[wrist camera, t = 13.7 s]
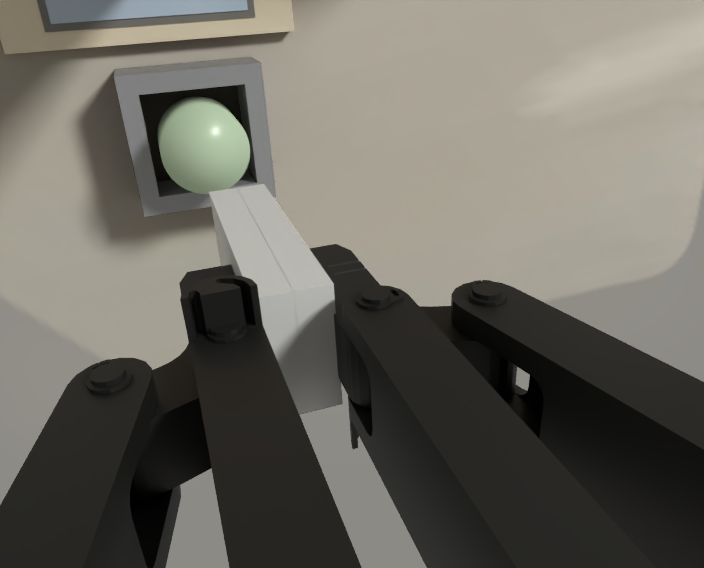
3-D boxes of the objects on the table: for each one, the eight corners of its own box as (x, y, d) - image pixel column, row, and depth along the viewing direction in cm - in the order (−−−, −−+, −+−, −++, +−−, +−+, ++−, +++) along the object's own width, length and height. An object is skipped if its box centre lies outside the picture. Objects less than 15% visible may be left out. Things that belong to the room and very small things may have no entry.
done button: (149, 100, 26) (152, 112, 24) (234, 91, 27) (244, 102, 24) (166, 182, 28) (169, 200, 25) (244, 171, 28) (255, 187, 26)
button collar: (114, 69, 26) (113, 76, 24) (250, 57, 28) (261, 62, 26) (143, 200, 29) (144, 217, 27) (265, 182, 31) (276, 196, 29)
